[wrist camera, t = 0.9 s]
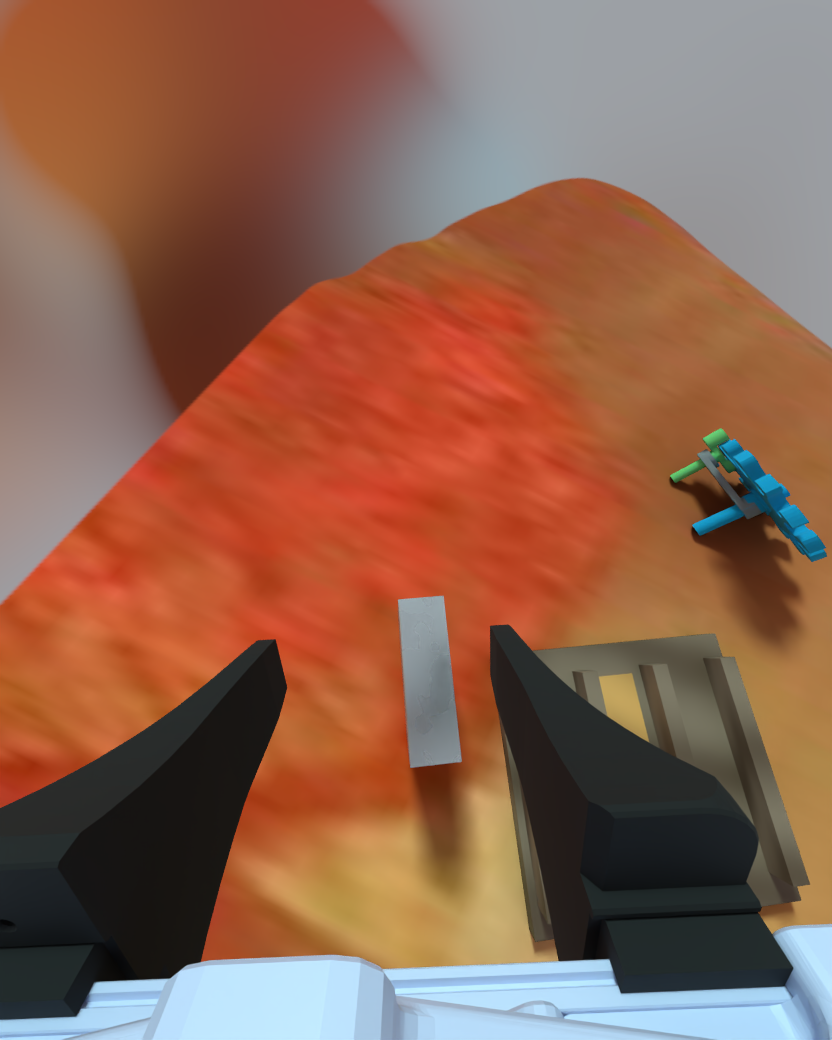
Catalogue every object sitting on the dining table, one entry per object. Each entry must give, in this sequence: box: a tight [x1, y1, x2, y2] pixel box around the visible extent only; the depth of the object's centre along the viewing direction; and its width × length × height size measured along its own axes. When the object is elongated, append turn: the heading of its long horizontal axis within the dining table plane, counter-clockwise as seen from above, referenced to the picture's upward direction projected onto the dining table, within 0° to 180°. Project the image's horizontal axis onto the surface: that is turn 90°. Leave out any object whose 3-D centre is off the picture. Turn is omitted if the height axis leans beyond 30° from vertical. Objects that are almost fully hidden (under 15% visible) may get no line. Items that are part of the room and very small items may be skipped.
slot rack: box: [498, 634, 810, 942], centre depth 24 cm, size 15×16×3 cm
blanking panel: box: [398, 596, 462, 768], centre depth 23 cm, size 8×2×7 cm, turn 5°
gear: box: [670, 428, 827, 562], centre depth 29 cm, size 11×6×10 cm
